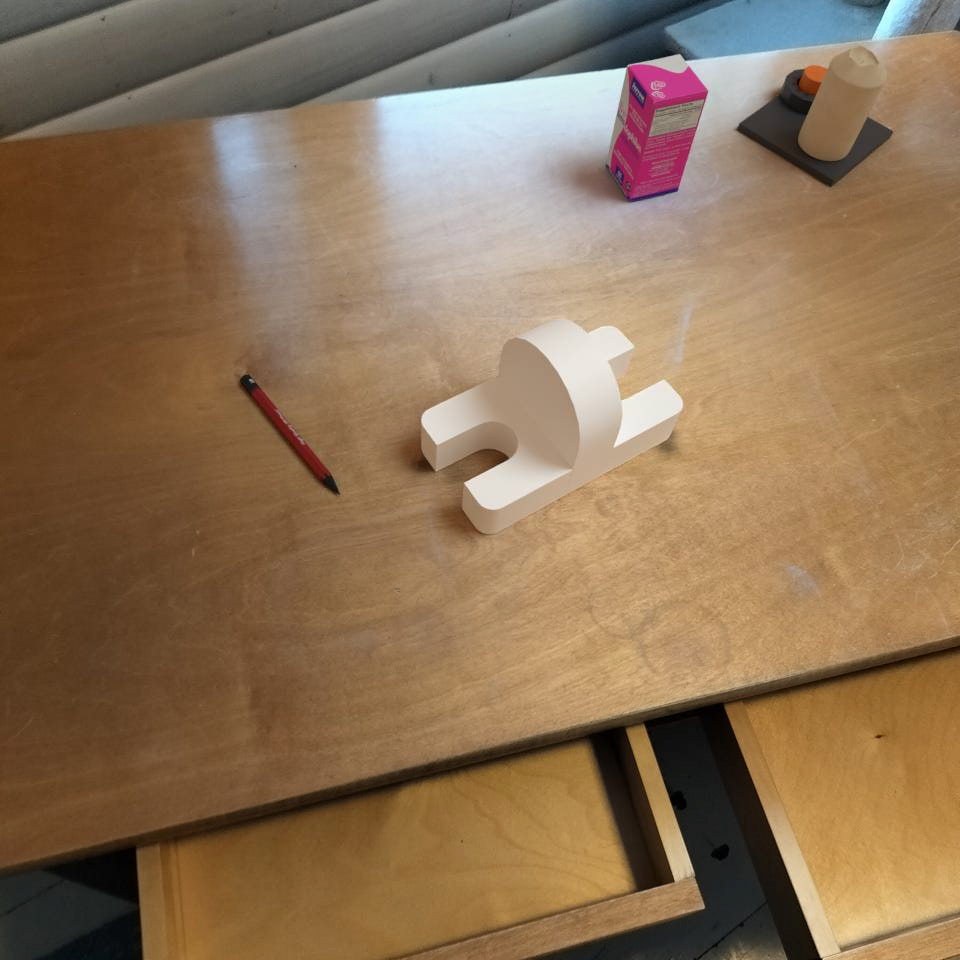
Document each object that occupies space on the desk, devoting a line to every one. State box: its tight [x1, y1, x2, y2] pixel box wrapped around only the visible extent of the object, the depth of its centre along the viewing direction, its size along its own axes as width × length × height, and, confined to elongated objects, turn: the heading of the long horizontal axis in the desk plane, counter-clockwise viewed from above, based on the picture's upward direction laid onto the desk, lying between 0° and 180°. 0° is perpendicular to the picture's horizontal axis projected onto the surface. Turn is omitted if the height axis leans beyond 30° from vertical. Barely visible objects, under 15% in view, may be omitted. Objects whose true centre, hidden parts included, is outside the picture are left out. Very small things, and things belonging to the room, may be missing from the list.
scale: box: [736, 68, 894, 188], centre depth 91 cm, size 12×12×2 cm
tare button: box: [799, 64, 828, 96], centre depth 92 cm, size 3×3×2 cm
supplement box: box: [605, 53, 709, 203], centre depth 81 cm, size 6×6×12 cm
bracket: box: [420, 317, 684, 535], centre depth 64 cm, size 19×10×11 cm, turn 123°
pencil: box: [239, 373, 341, 496], centre depth 67 cm, size 1×14×1 cm, turn 39°
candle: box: [798, 45, 888, 161], centre depth 85 cm, size 6×6×10 cm
